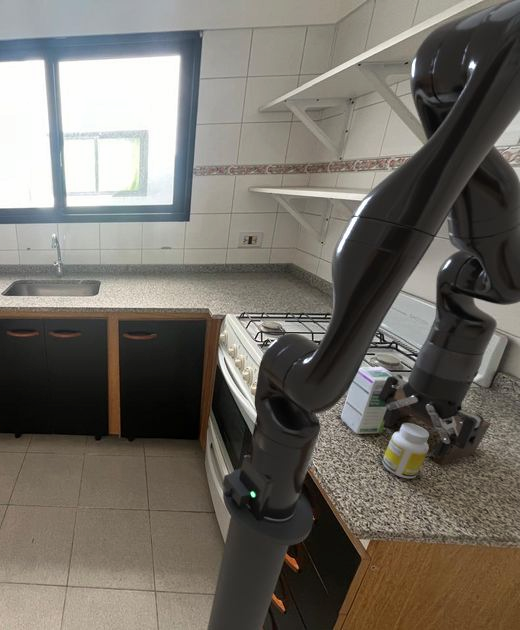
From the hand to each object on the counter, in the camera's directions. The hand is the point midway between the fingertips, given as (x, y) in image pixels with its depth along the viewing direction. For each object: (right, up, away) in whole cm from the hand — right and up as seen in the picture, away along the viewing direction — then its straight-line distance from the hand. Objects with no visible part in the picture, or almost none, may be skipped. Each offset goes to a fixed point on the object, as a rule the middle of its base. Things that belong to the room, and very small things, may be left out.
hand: (412, 439), depth 66 cm
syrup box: (+1, -2, +14) cm, 15 cm away
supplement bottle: (0, -7, +3) cm, 8 cm away
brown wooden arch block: (+12, -3, +11) cm, 16 cm away
